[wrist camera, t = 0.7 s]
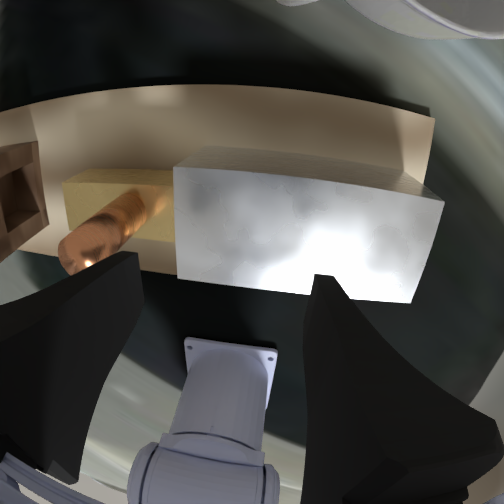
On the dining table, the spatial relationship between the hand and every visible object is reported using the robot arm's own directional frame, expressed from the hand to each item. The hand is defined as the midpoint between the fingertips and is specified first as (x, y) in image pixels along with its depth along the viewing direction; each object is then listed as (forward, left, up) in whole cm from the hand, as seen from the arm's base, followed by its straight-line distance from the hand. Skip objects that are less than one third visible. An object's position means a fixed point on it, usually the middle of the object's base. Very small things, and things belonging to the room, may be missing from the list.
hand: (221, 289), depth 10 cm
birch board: (0, +6, -10) cm, 12 cm away
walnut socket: (0, +19, -10) cm, 21 cm away
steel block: (0, -3, -10) cm, 10 cm away
